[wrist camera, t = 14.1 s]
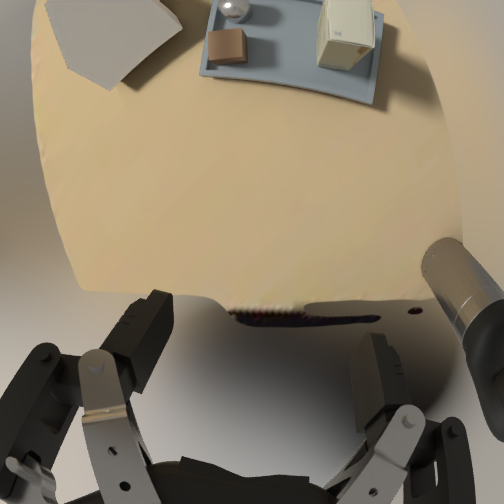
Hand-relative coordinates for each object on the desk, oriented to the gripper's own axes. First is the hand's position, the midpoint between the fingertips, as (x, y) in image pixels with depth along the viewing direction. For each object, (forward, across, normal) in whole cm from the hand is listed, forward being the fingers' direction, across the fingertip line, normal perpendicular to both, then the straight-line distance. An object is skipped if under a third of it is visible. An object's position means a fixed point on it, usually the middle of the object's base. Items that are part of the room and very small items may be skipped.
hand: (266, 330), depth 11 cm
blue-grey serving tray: (+30, +2, -19) cm, 36 cm away
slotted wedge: (+30, +28, -22) cm, 47 cm away
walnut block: (+28, +10, -16) cm, 34 cm away
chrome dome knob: (+28, +10, -22) cm, 37 cm away
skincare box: (+28, -3, -19) cm, 34 cm away
